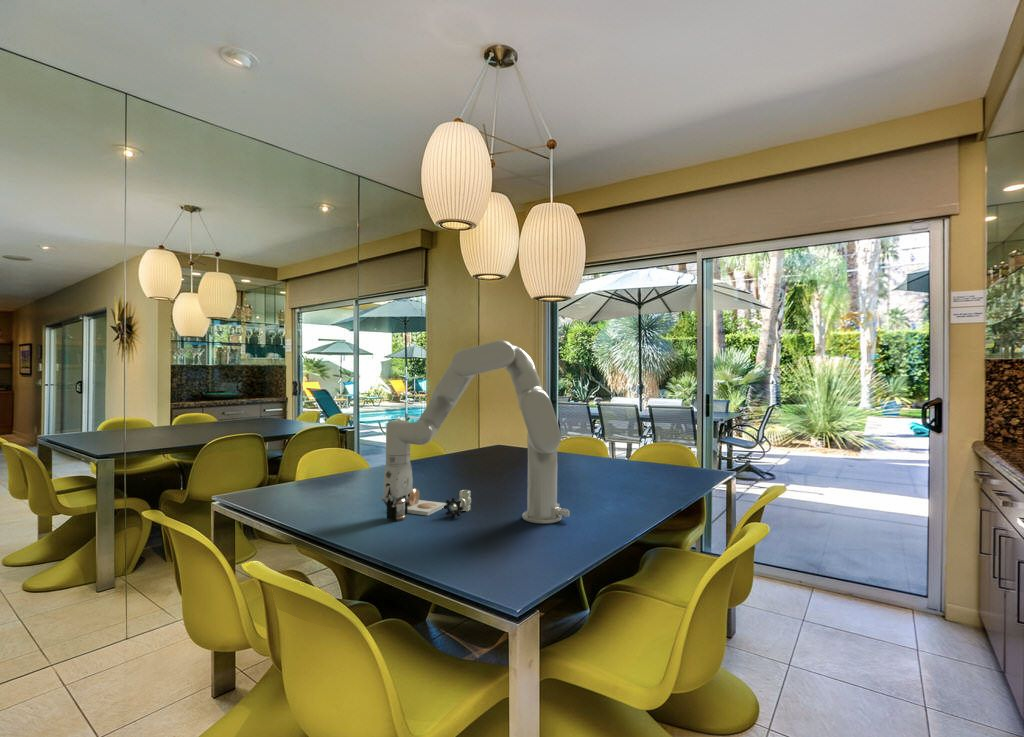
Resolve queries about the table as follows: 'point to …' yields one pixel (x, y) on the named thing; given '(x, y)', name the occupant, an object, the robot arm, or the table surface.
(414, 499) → the fixed stub
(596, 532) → the table surface
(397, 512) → the coupling
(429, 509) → the plate
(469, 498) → the valve
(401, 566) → the table surface
